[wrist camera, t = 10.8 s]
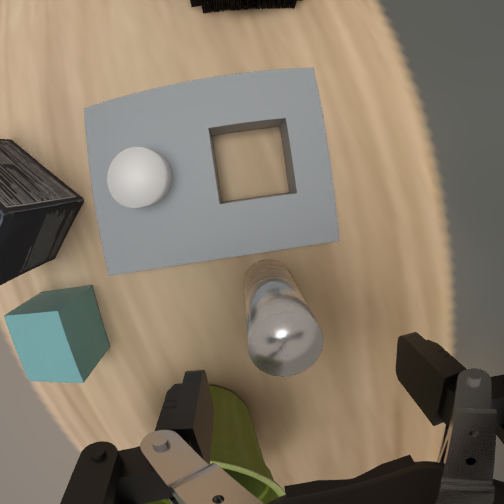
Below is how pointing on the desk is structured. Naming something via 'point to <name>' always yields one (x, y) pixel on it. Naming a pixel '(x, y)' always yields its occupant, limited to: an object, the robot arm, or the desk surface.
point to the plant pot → (238, 447)
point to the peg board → (206, 171)
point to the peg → (279, 321)
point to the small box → (31, 212)
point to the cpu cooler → (258, 0)
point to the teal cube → (59, 335)
